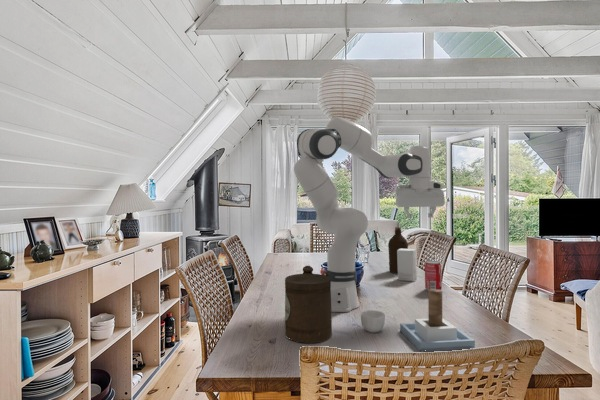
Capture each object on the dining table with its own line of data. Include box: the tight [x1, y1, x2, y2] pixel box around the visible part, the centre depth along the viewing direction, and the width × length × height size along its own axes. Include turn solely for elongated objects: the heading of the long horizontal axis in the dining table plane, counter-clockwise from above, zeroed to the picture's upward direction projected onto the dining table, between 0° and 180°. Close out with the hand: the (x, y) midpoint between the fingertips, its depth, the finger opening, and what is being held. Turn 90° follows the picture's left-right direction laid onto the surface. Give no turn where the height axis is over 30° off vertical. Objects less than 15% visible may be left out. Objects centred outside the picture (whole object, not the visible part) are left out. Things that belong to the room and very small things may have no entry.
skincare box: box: [397, 248, 418, 282], centre depth 191 cm, size 8×7×16 cm
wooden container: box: [284, 265, 333, 344], centre depth 120 cm, size 15×15×22 cm
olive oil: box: [387, 226, 409, 275], centre depth 209 cm, size 11×11×25 cm
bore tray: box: [399, 317, 476, 352], centre depth 115 cm, size 16×16×5 cm
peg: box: [427, 289, 443, 327], centre depth 115 cm, size 4×4×14 cm
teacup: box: [360, 309, 386, 334], centre depth 124 cm, size 10×8×5 cm
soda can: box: [424, 260, 443, 292], centre depth 171 cm, size 7×7×13 cm
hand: (420, 217), depth 158 cm, fingers open, 8 cm apart
